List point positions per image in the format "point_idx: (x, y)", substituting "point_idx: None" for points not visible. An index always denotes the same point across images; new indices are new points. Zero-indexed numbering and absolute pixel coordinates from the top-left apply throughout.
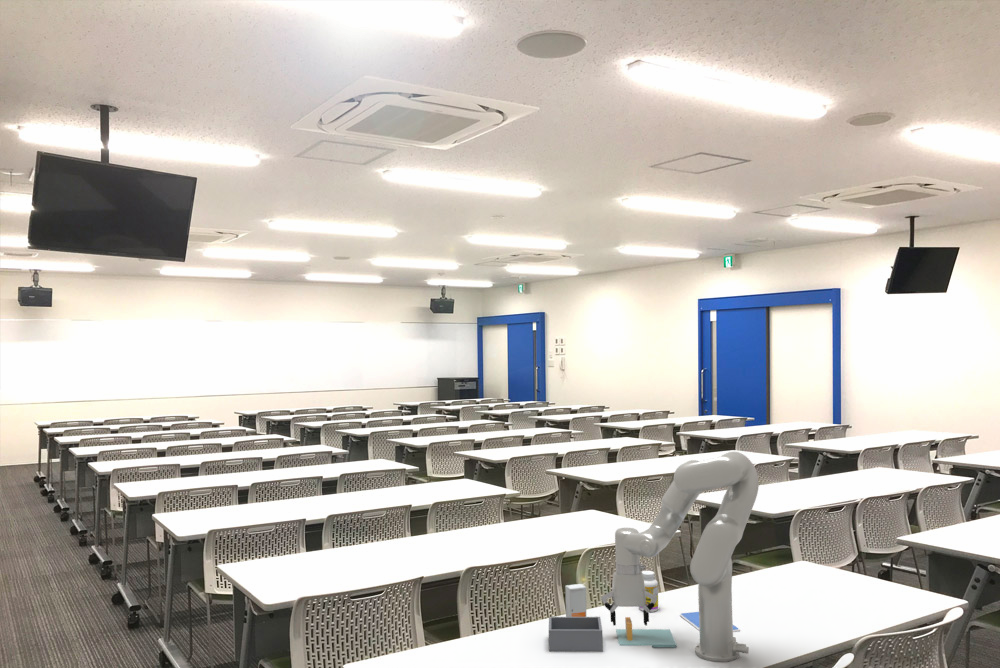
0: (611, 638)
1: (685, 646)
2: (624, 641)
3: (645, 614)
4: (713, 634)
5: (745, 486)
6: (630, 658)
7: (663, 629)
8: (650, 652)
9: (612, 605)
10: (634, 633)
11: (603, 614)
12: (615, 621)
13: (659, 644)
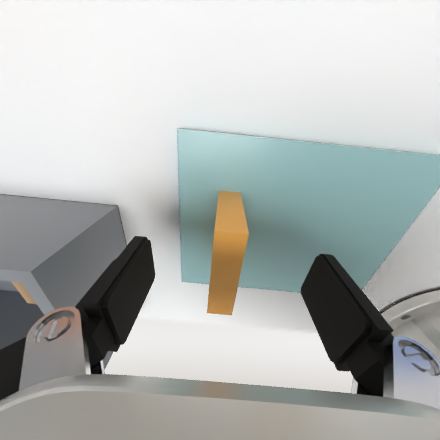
0: (159, 199)
1: (385, 281)
2: (200, 264)
3: (333, 357)
4: None
5: None
6: (205, 320)
7: (427, 157)
8: (263, 301)
9: (48, 370)
10: (257, 196)
11: None
12: (146, 293)
13: None
